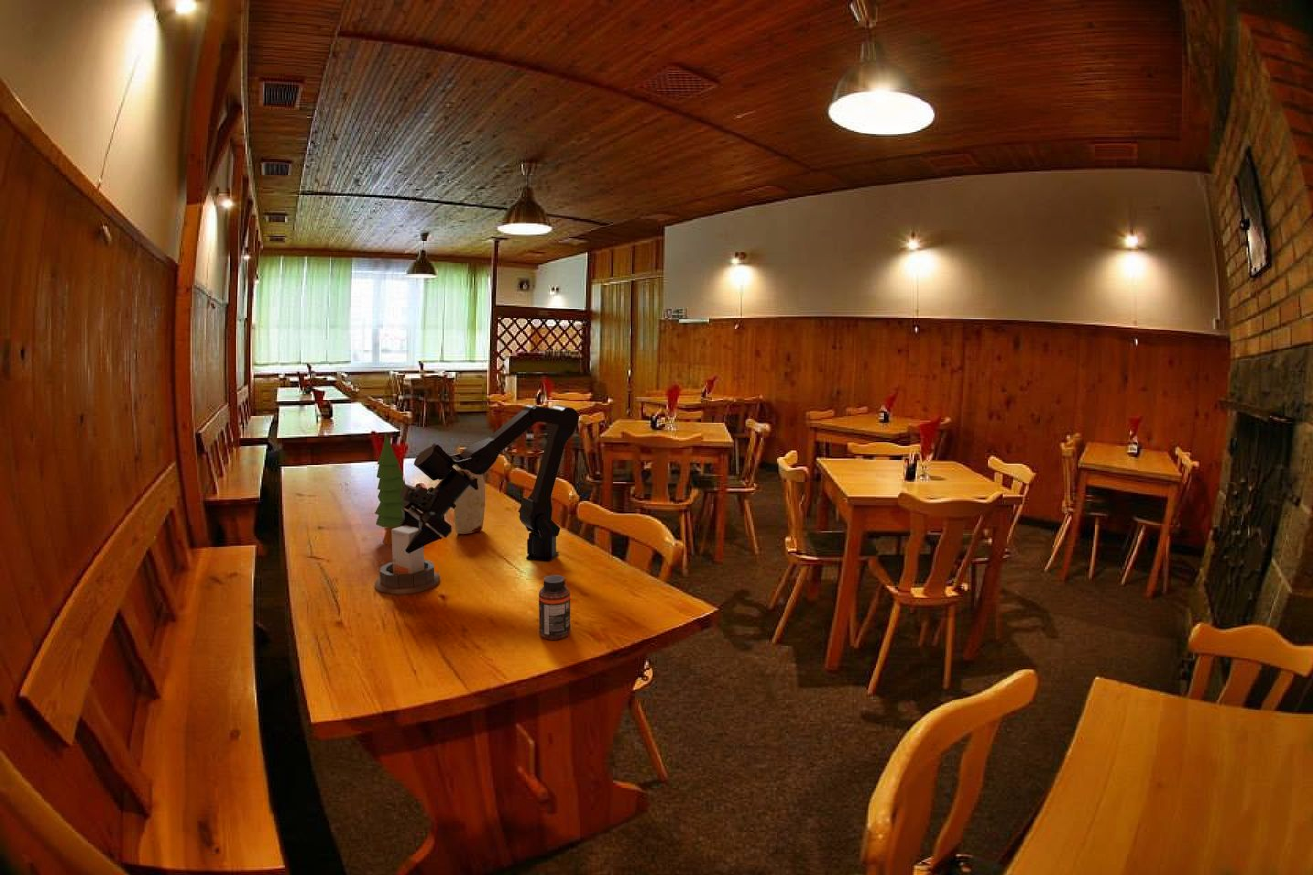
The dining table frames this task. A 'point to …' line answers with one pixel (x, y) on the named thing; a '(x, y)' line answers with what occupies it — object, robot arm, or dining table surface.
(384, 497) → the decorative tree
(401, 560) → the skincare box
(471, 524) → the food model
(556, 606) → the supplement bottle
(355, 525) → the dining table surface
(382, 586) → the stone fire pit
